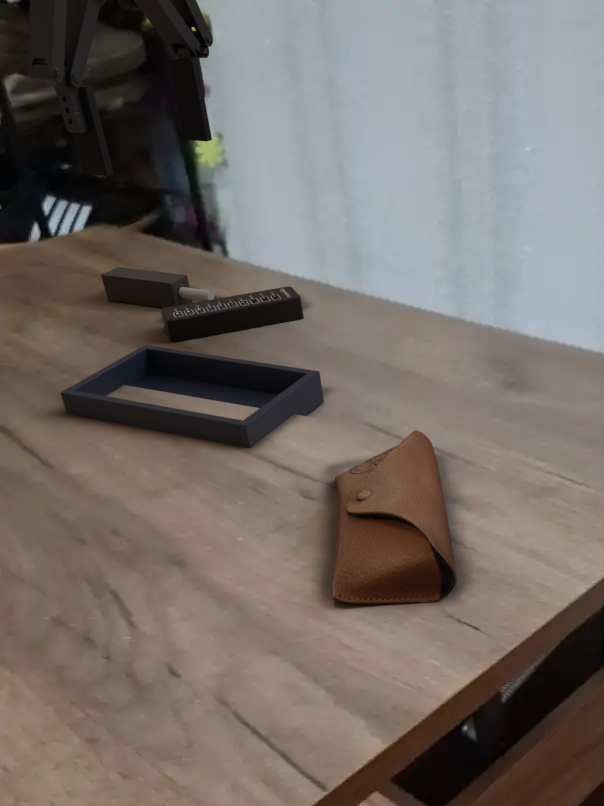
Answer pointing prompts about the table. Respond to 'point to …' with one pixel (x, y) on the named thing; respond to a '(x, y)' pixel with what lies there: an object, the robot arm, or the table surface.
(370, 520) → the sunglasses case
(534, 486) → the table surface
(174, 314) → the multiport hub
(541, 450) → the table surface
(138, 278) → the black block with peg
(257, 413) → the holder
